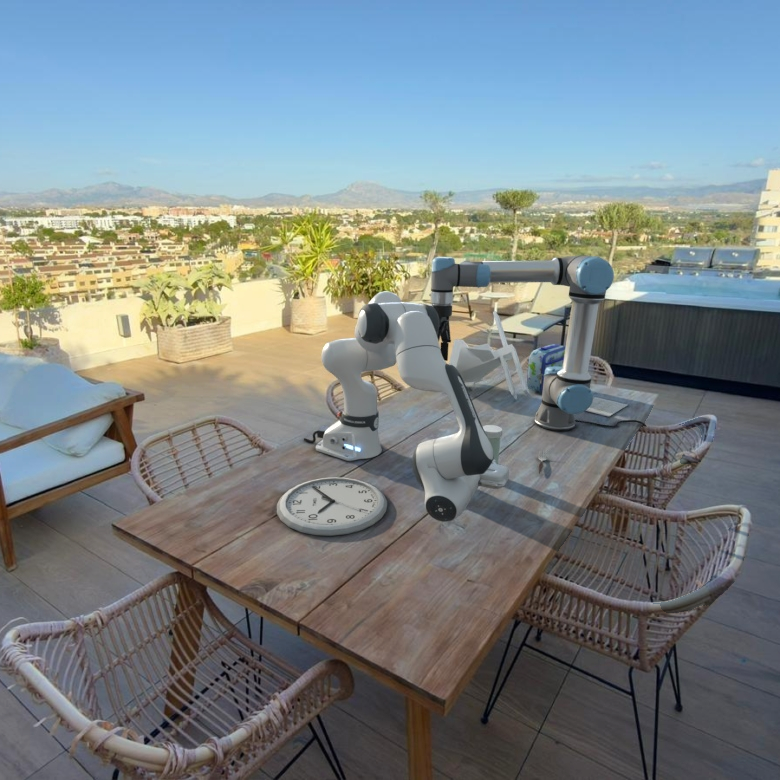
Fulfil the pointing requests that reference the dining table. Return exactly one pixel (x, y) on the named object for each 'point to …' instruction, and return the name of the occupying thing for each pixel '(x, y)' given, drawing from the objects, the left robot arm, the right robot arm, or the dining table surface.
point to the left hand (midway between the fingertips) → (475, 458)
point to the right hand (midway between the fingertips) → (438, 364)
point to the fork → (542, 460)
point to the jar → (495, 447)
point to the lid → (493, 431)
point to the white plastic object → (486, 360)
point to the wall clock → (331, 506)
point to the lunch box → (543, 364)
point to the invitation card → (605, 407)
